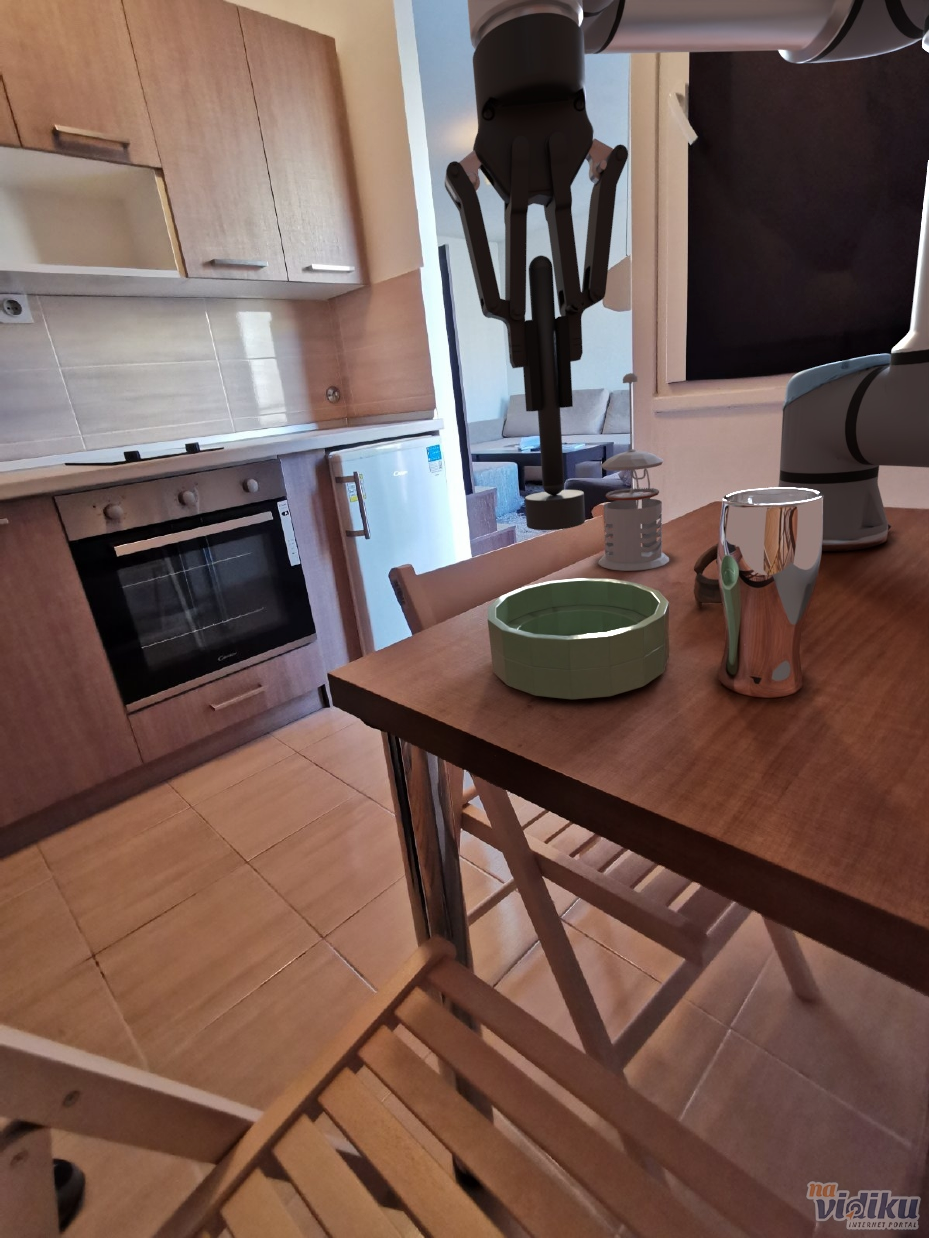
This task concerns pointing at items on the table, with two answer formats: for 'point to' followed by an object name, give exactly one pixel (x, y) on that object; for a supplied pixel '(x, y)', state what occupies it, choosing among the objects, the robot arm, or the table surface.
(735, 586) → the beer glass
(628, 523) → the french press
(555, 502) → the rod on round base
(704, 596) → the brown curved piece
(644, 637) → the bowl
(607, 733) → the table surface
